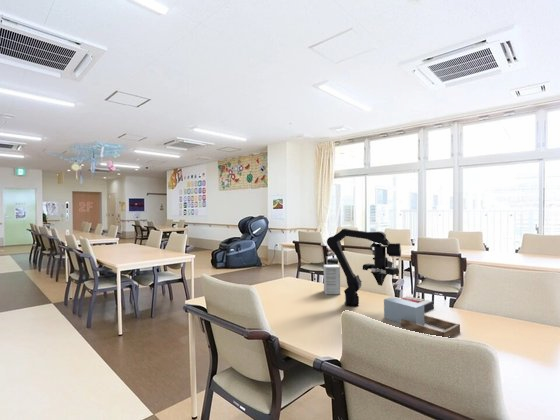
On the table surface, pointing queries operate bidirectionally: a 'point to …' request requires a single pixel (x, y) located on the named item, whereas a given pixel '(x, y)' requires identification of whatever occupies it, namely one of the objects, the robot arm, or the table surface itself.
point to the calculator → (421, 302)
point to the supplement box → (331, 279)
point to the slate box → (403, 310)
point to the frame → (450, 328)
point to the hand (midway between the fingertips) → (380, 285)
